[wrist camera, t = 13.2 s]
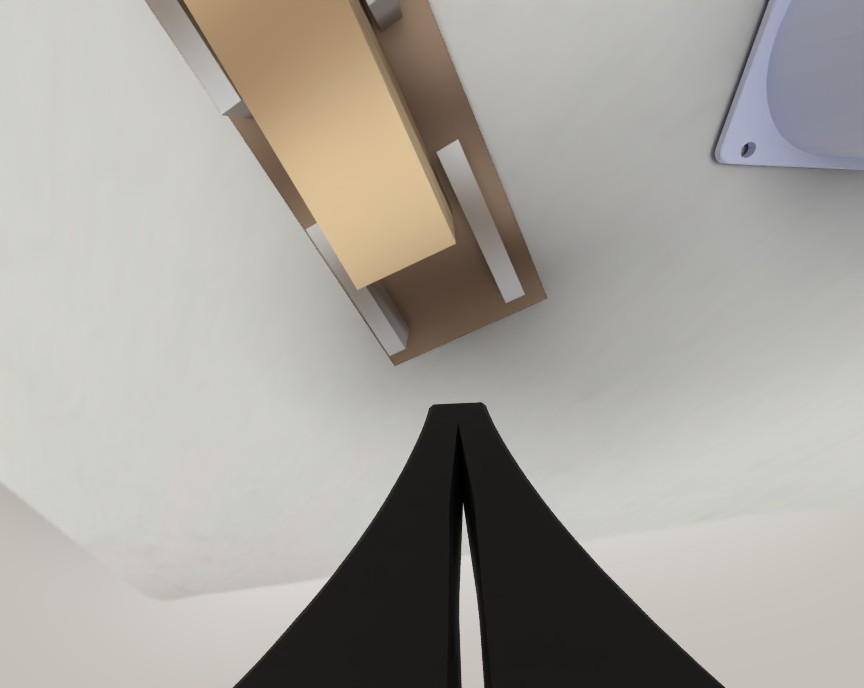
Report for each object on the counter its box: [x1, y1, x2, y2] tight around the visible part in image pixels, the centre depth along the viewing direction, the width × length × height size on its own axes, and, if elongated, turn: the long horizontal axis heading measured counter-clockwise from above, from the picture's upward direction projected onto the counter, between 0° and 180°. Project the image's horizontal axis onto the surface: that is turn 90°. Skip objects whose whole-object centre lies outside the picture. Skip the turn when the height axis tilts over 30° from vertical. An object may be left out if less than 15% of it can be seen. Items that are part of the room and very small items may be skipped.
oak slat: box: [184, 0, 456, 290], centre depth 10 cm, size 11×3×6 cm, turn 26°
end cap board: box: [145, 0, 547, 366], centre depth 13 cm, size 18×8×4 cm, turn 28°
